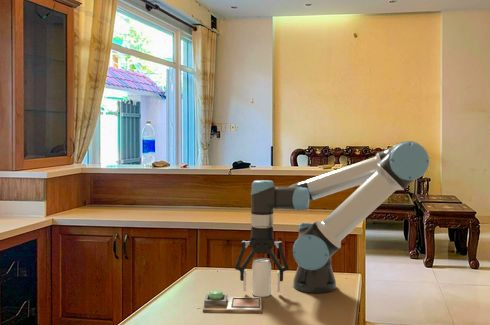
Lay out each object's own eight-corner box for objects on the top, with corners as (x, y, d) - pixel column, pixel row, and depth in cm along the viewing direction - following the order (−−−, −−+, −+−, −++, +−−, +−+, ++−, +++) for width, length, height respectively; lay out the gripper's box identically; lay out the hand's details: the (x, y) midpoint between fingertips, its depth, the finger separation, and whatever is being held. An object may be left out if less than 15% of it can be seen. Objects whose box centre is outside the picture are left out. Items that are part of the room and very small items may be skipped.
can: (265, 298, 169) (265, 262, 169) (248, 295, 173) (248, 260, 172) (274, 293, 175) (274, 259, 174) (258, 290, 178) (258, 256, 178)
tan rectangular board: (261, 299, 168) (261, 291, 168) (261, 313, 155) (261, 304, 155) (207, 298, 169) (207, 291, 169) (202, 312, 156) (202, 303, 156)
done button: (223, 296, 164) (223, 290, 164) (222, 301, 160) (222, 294, 160) (209, 296, 164) (209, 290, 164) (208, 300, 160) (208, 294, 160)
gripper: (295, 224, 176) (295, 287, 177) (228, 223, 177) (228, 286, 178) (297, 228, 169) (296, 294, 169) (227, 227, 169) (226, 293, 170)
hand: (261, 290), depth 174 cm, fingers open, 11 cm apart
